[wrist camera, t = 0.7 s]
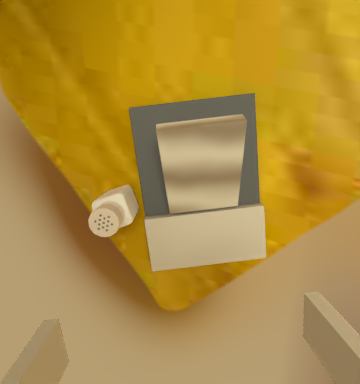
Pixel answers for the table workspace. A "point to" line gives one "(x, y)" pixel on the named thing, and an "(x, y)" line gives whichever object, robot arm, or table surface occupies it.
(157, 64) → the table surface
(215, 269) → the table surface
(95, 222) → the salt shaker
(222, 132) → the plank
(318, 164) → the table surface
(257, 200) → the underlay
